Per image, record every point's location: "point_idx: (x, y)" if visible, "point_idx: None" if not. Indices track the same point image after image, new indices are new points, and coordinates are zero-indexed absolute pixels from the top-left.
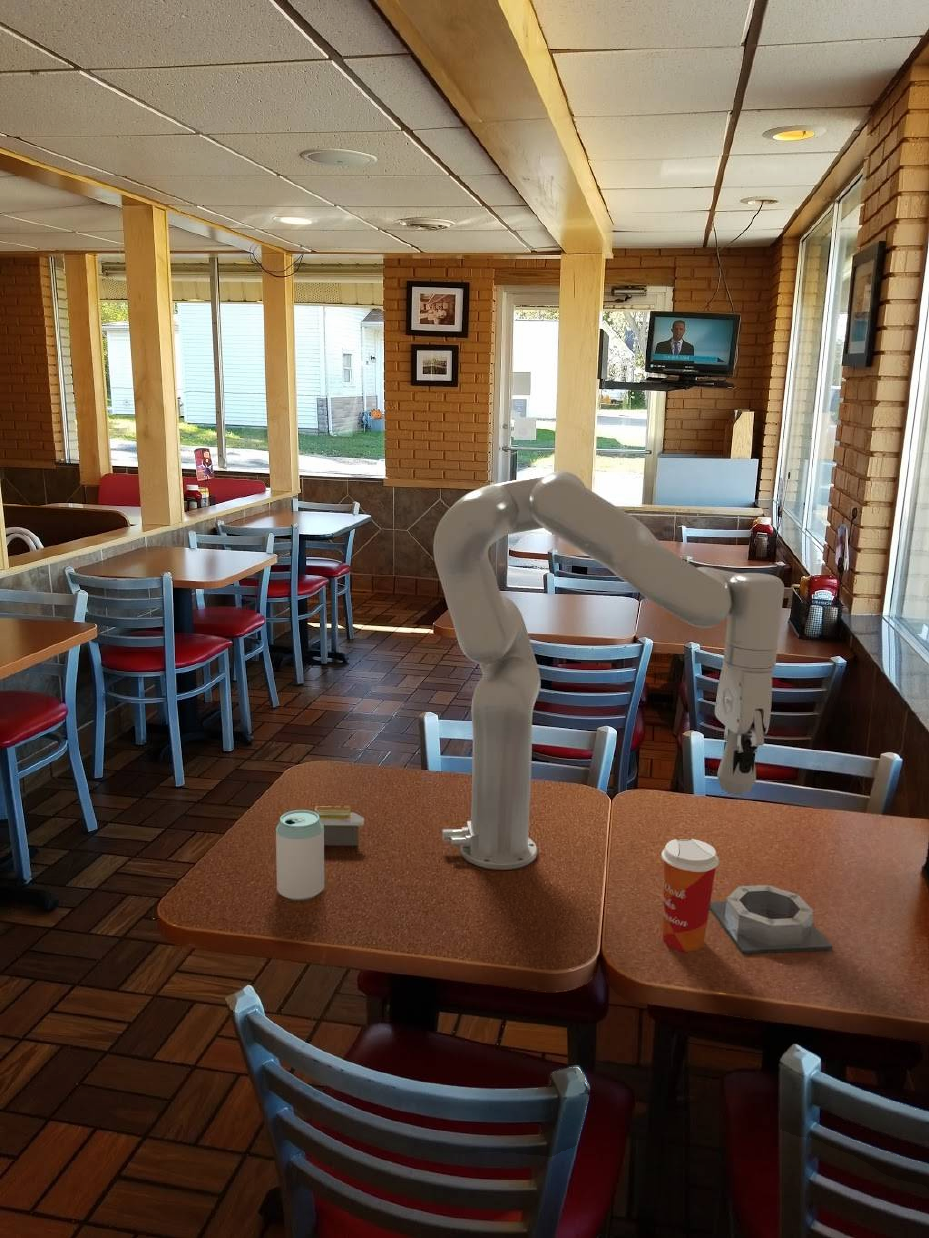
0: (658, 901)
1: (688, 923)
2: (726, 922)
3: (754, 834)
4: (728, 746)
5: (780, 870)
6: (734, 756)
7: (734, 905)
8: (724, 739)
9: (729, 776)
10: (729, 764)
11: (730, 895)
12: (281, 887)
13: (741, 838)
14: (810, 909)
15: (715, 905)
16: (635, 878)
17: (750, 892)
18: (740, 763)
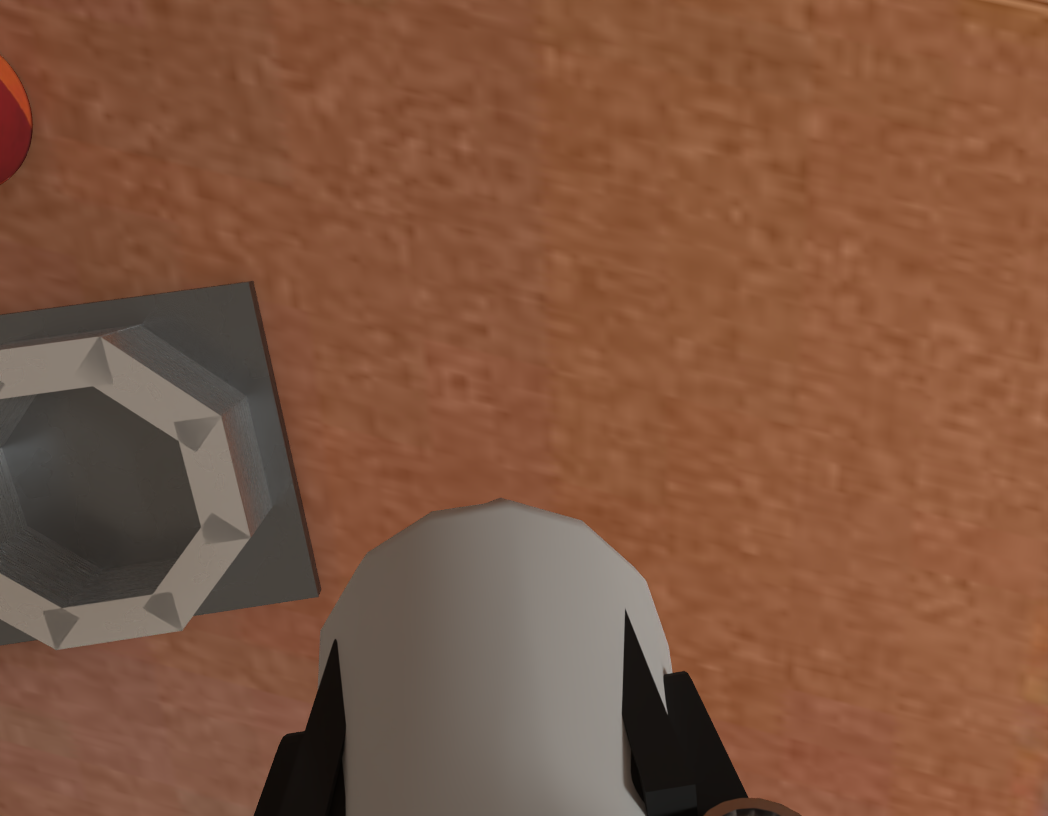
0: (265, 77)
1: None
2: (96, 319)
3: (849, 602)
4: (442, 806)
5: None
6: (300, 787)
7: (36, 353)
8: (767, 805)
9: (352, 597)
10: (362, 663)
11: (128, 358)
12: None
13: (819, 547)
14: (68, 642)
15: (226, 308)
16: (463, 12)
17: (184, 451)
18: (278, 792)
